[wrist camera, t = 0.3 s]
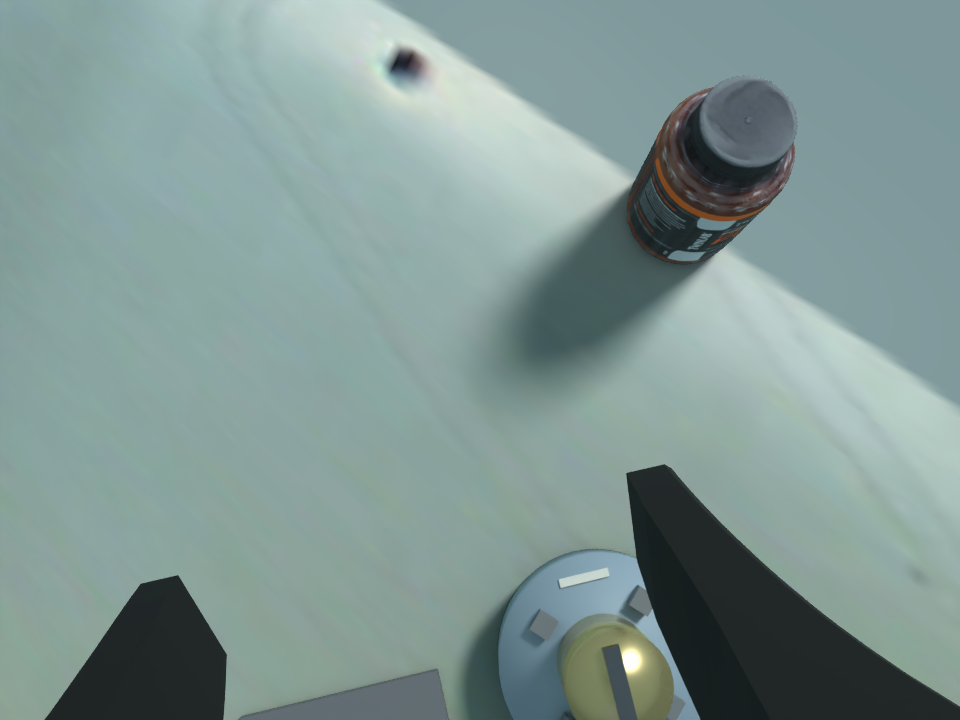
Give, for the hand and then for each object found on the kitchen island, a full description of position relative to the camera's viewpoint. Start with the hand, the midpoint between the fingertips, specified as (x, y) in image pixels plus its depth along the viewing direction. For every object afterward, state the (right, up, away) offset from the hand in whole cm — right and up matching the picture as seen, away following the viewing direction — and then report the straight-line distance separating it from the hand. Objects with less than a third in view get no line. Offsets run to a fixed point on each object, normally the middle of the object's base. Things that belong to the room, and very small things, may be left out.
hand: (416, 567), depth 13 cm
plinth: (+7, -11, +27) cm, 30 cm away
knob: (+7, -11, +24) cm, 28 cm away
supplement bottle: (+12, +11, +30) cm, 34 cm away
